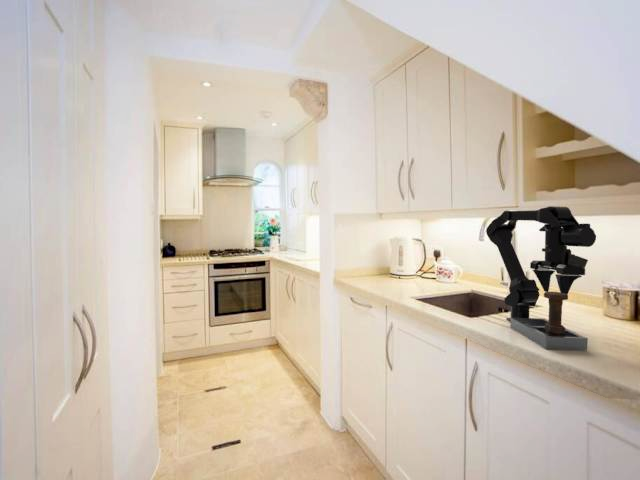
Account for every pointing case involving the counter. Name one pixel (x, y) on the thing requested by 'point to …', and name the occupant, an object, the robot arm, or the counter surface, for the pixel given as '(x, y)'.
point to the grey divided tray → (539, 335)
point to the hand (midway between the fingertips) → (554, 294)
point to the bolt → (555, 313)
